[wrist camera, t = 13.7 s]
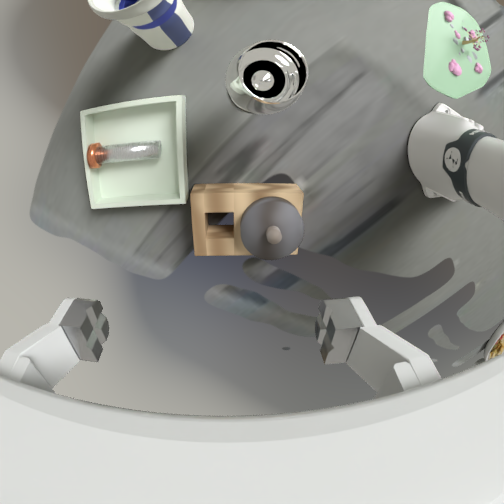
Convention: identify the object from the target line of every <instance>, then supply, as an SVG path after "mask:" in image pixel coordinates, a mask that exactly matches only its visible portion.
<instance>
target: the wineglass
mask: <svg viewBox="0 0 504 504" xmlns="http://www.w3.org/2000/svg"><path fill="white" fill-rule="evenodd" d="M308 75H309V73H308V65H307V62H306V60H305V58H304V56H303V55H302V54H301V52H300V51H299V50H298V49H296V48H295V47H294V46H292V45H291V44H289V43H286V42H284V41H279V40H264V41H259V42H256V43H253V44H251V45H248V46H246V47H245V48H243V49H242V50H240V51H239V52H238V53H237V54H236V55H235V56H234V57H233V58H232V60H231V61H230V63H229V65H228V68H227V70H226V76H225V81H226V87H227V91H228V93H229V95H230V97H231V99H232V101H233V102H234V103H235V105H237V106H238V107H239V108H241V109H243V110H245V111H248V112H251V113H254V114H261V115H270V114H275V113H279V112H281V111H283V110H286V109H287V108H289V107H290V106H292V105H293V104H294V103H295V102H296V101H297V100H298V99H299V97H300V96H301V94H302V93H303V91H304V89H305V86H306V84H307V81H308Z"/></svg>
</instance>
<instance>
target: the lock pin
mask: <svg viewBox="0 0 504 504" xmlns="http://www.w3.org/2000/svg"><path fill="white" fill-rule="evenodd" d="M161 153H162V146H161V141H160V140H153V141H141V142H130V143H121V144H113V145H105V146H102V145H101V144H100V143H92V144H90V145H89V147H88V150H87V162H88V165H89V167H90V168H91V169H94V168H100V167H101V166H102V164H104V163H113V162H123V161H134V160H146V159H160V158H161Z"/></svg>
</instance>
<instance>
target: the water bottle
mask: <svg viewBox="0 0 504 504" xmlns="http://www.w3.org/2000/svg"><path fill="white" fill-rule="evenodd" d="M88 3H89V6H90V7H91V9H92V10H93V11H94V12H95V13H96V14H97V15H99V16H101V17H103V18H106V19H111V20H118V21H119V22H120V23H121V24H123V25H126V26H129V28H130V29H131V30H132V31H133V32H134V33H135V34H137V35H138V36H140V37H141V38H142V39H143V40H144V41H146V42H147V43H148V44H149V45H150V46H151V47H153V48H155V49H158V50H170V49H174V48H176V47H179V46H180V45H182V44H183V43H185V42H186V41H187V40H188V39H189V37H190V36H191V34H192V32H193V29H194V21H193V18H192V16H191V15H190V14H189V12H188V11H187V9H186V8H185V6H184V4H183V2H182V1H181V0H88Z"/></svg>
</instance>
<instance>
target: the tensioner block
mask: <svg viewBox="0 0 504 504" xmlns="http://www.w3.org/2000/svg"><path fill="white" fill-rule="evenodd" d="M303 196H304V193H303V192H302V191H301V189H300V188H299V187H298V186H297V184H271V183H270V184H269V183H220V184H194V187H193V189H192V191H191V193H190V199H191V215H192V228H193V241H194V252H195V256H219V255H220V256H221V255H224V256H225V255H254V256H256V257H258V258H260V259H264V260H277V259H281V258H284V257H286V256H288V255H293V254H297V253H298V247H299V245H300V244H301V242H302V239H303V236H304V222H303V219H302V207H303ZM212 212H234V225H208V213H212Z"/></svg>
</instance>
